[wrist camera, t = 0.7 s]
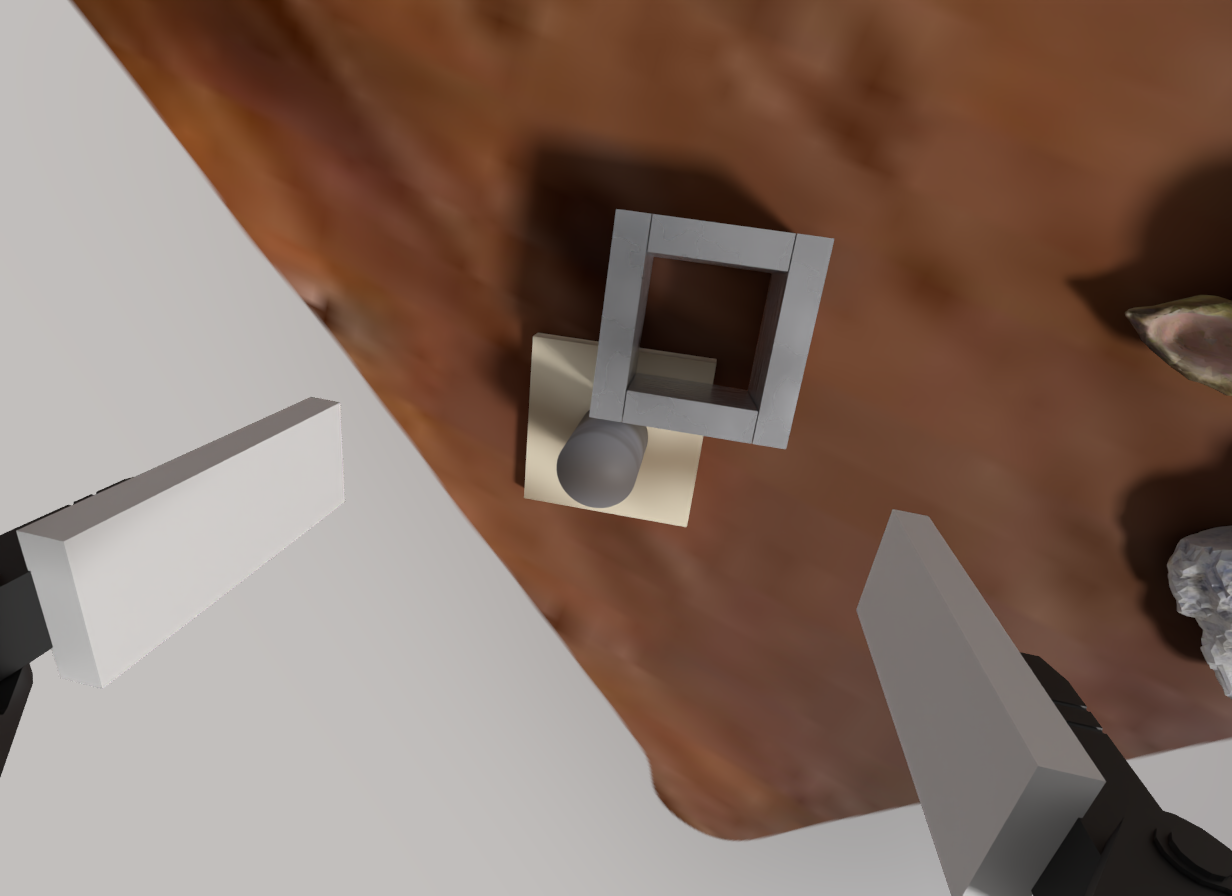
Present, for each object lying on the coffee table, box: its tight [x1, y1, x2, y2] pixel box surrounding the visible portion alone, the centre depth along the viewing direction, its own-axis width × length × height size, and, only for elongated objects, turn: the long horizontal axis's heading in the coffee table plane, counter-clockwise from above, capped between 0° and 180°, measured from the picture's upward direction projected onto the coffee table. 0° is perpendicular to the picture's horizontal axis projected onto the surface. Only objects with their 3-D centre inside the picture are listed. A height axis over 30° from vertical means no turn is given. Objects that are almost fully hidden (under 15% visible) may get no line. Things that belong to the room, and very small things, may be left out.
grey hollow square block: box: [589, 209, 834, 449], centre depth 28 cm, size 9×9×6 cm
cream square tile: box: [524, 333, 717, 527], centre depth 32 cm, size 10×10×6 cm
